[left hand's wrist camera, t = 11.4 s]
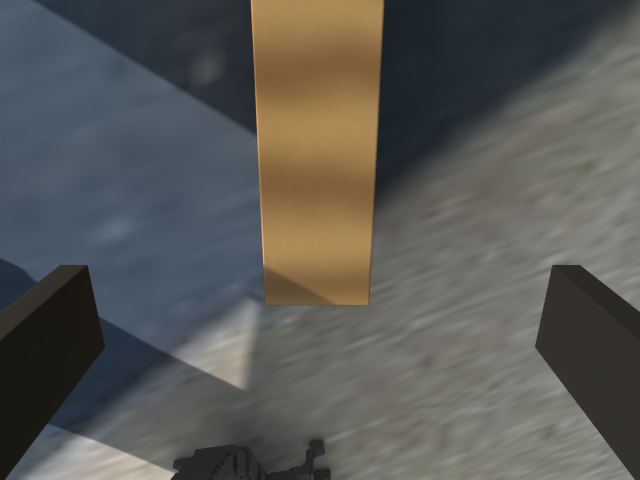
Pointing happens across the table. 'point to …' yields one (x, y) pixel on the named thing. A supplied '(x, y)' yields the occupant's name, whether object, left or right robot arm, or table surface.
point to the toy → (243, 465)
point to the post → (317, 146)
